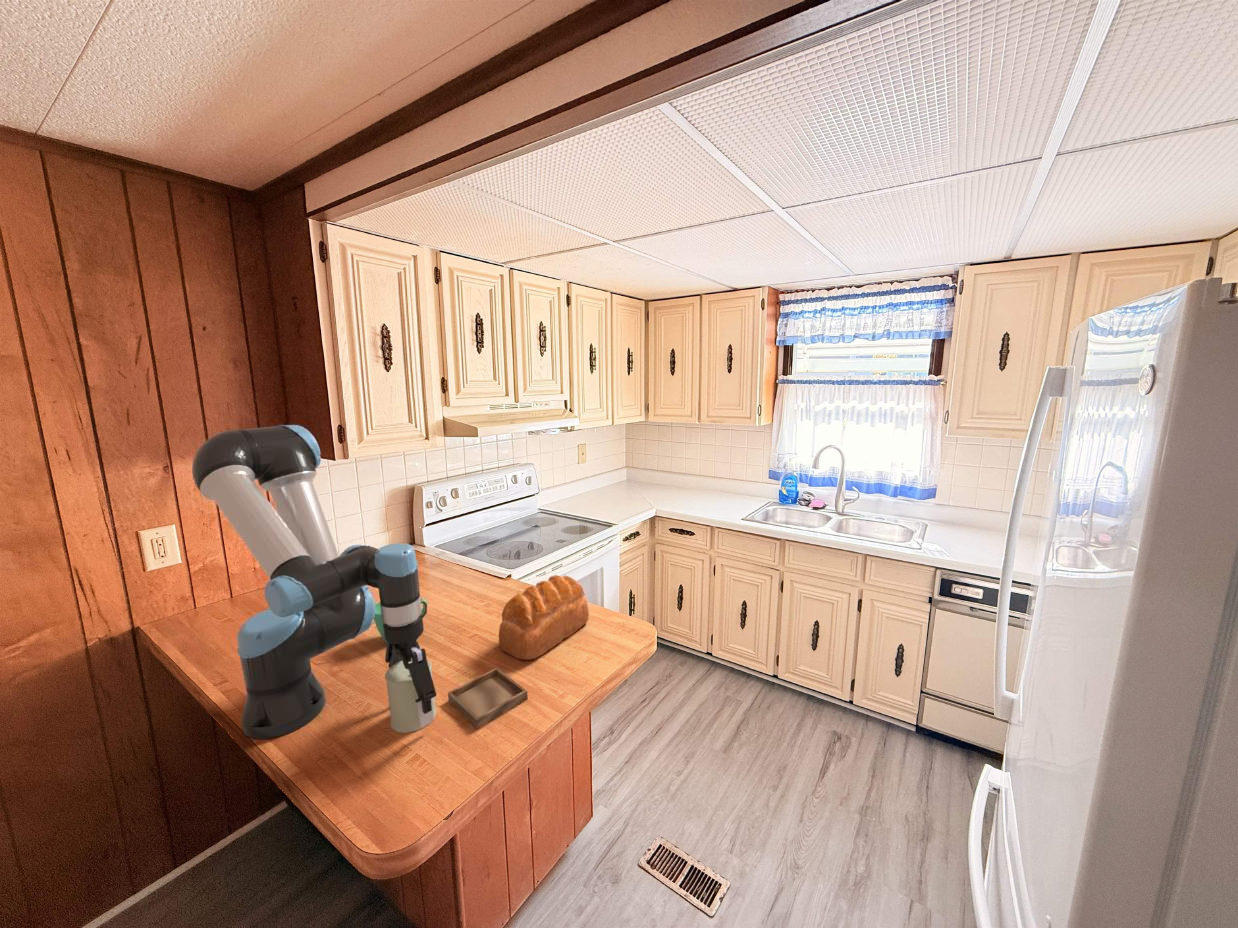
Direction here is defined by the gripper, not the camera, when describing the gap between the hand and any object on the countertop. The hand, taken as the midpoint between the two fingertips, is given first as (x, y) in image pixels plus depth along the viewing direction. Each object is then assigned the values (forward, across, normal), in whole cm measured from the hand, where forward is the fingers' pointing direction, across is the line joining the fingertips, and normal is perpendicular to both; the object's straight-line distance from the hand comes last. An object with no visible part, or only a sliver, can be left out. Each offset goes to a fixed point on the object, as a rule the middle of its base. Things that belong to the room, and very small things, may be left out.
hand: (413, 708), depth 104 cm
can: (+2, 0, 0) cm, 2 cm away
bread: (+3, +5, -40) cm, 40 cm away
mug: (+2, +35, -12) cm, 37 cm away
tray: (+2, -7, -14) cm, 16 cm away
